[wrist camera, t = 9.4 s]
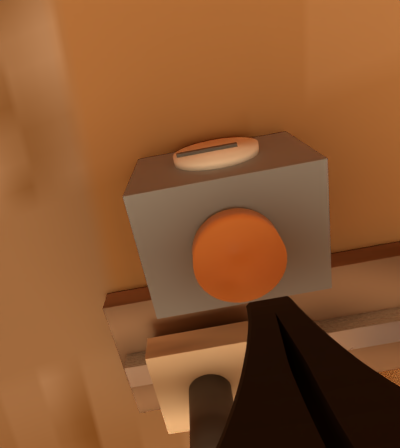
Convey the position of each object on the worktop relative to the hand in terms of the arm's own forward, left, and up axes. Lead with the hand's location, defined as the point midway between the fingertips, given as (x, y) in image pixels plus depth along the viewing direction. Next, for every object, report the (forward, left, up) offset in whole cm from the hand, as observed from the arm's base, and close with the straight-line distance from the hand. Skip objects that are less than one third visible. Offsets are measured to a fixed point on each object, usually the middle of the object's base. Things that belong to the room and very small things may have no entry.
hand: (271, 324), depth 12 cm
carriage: (-9, +3, -8) cm, 13 cm away
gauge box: (+1, +1, -10) cm, 10 cm away
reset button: (+1, +1, -5) cm, 5 cm away
